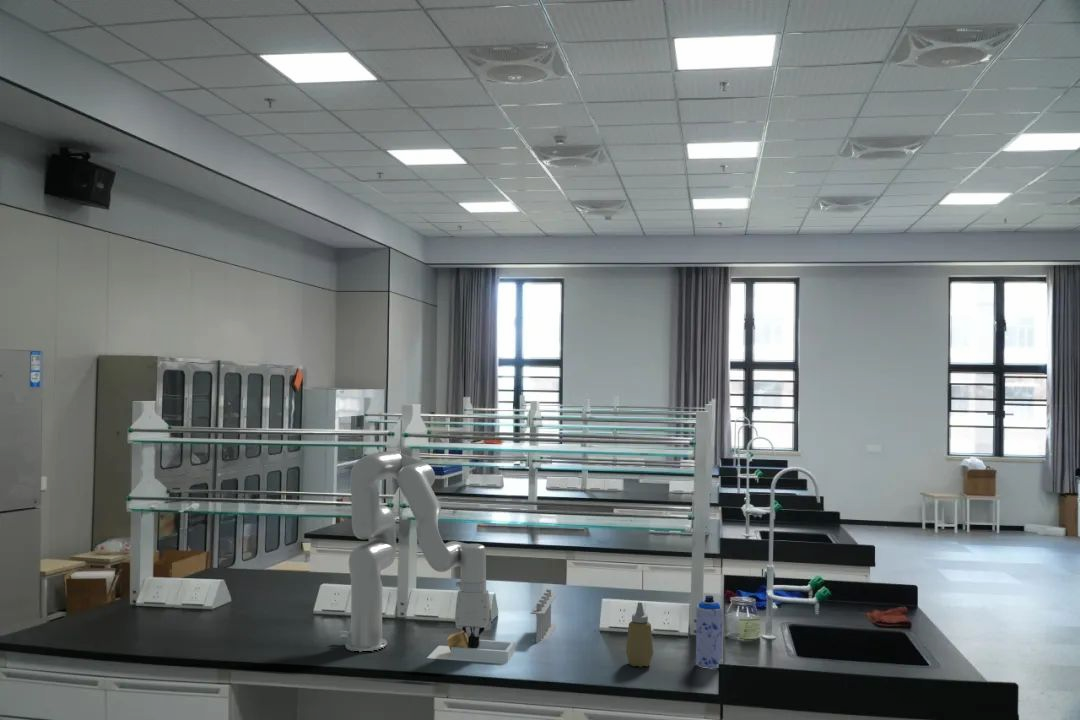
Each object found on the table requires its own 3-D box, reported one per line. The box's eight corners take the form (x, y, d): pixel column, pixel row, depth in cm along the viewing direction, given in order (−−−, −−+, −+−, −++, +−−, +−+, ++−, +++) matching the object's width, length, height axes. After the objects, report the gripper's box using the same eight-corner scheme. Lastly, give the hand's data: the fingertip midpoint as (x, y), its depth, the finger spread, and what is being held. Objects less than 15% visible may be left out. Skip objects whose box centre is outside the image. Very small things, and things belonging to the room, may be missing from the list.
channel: (426, 663, 256) (426, 647, 256) (438, 650, 267) (439, 635, 268) (506, 669, 251) (506, 653, 251) (515, 655, 263) (515, 640, 263)
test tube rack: (543, 625, 295) (544, 586, 295) (556, 626, 294) (557, 587, 295) (529, 648, 271) (530, 605, 271) (543, 649, 270) (544, 606, 270)
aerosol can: (719, 660, 260) (719, 593, 261) (725, 669, 253) (726, 599, 253) (692, 660, 260) (693, 592, 260) (698, 669, 252) (698, 599, 253)
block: (452, 656, 258) (446, 639, 258) (456, 650, 262) (450, 634, 263) (467, 650, 257) (462, 634, 257) (471, 645, 262) (465, 629, 262)
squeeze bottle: (651, 660, 260) (651, 599, 261) (655, 669, 252) (656, 606, 253) (623, 660, 260) (624, 599, 260) (627, 669, 252) (628, 606, 252)
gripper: (445, 588, 257) (445, 651, 257) (495, 590, 255) (495, 654, 254) (452, 582, 265) (453, 644, 264) (500, 584, 262) (501, 646, 262)
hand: (473, 648), depth 259 cm, fingers closed
